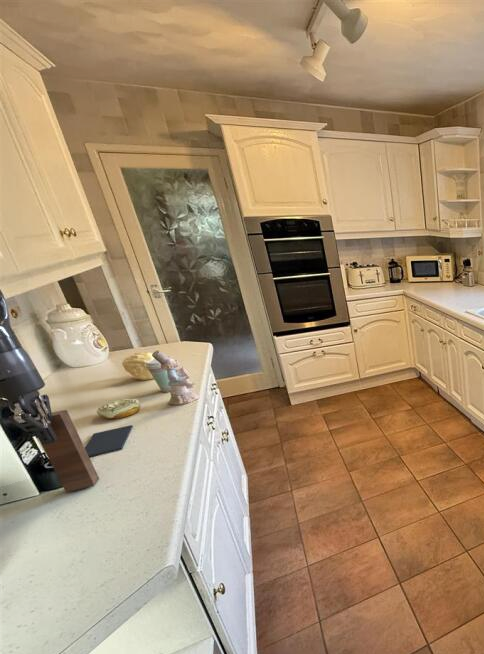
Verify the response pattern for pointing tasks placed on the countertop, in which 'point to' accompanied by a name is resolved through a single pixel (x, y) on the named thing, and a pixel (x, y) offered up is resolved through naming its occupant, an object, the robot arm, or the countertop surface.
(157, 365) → the coffee cup
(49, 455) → the walnut block
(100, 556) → the countertop surface
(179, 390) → the figurine
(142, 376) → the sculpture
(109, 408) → the decorated donut
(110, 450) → the rubber mat
